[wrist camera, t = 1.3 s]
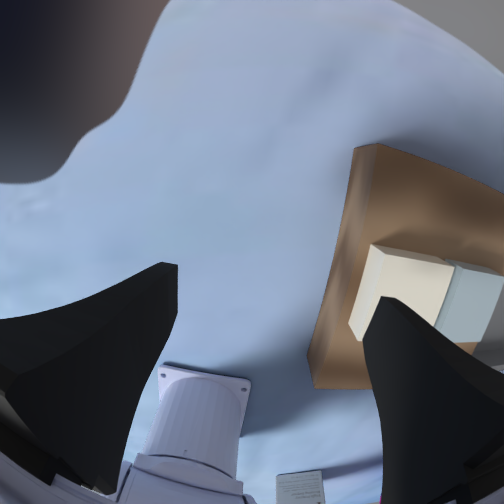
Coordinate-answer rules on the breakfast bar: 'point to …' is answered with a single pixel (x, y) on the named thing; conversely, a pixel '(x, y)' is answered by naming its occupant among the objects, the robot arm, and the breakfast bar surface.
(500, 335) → the bin
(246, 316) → the breakfast bar surface
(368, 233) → the tan wooden board
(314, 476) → the skincare box
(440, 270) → the cream tile
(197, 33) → the breakfast bar surface
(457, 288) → the blue grey tile
